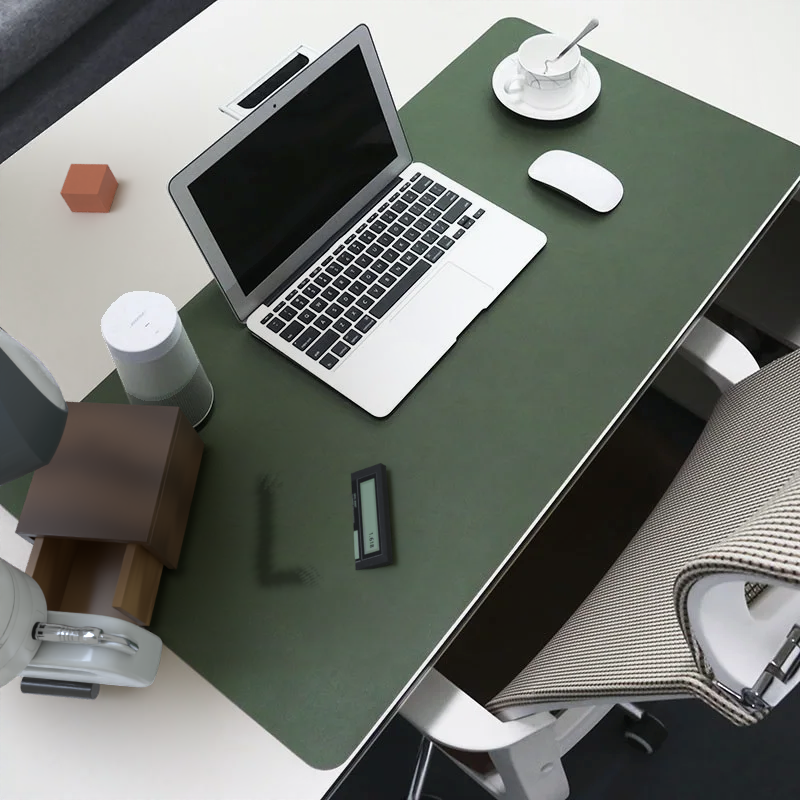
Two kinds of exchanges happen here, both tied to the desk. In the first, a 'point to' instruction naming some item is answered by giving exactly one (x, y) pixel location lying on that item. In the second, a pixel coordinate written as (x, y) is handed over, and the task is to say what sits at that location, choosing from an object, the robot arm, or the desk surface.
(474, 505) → the desk surface
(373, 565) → the calculator
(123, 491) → the cabinet
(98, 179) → the block
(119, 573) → the drawer
